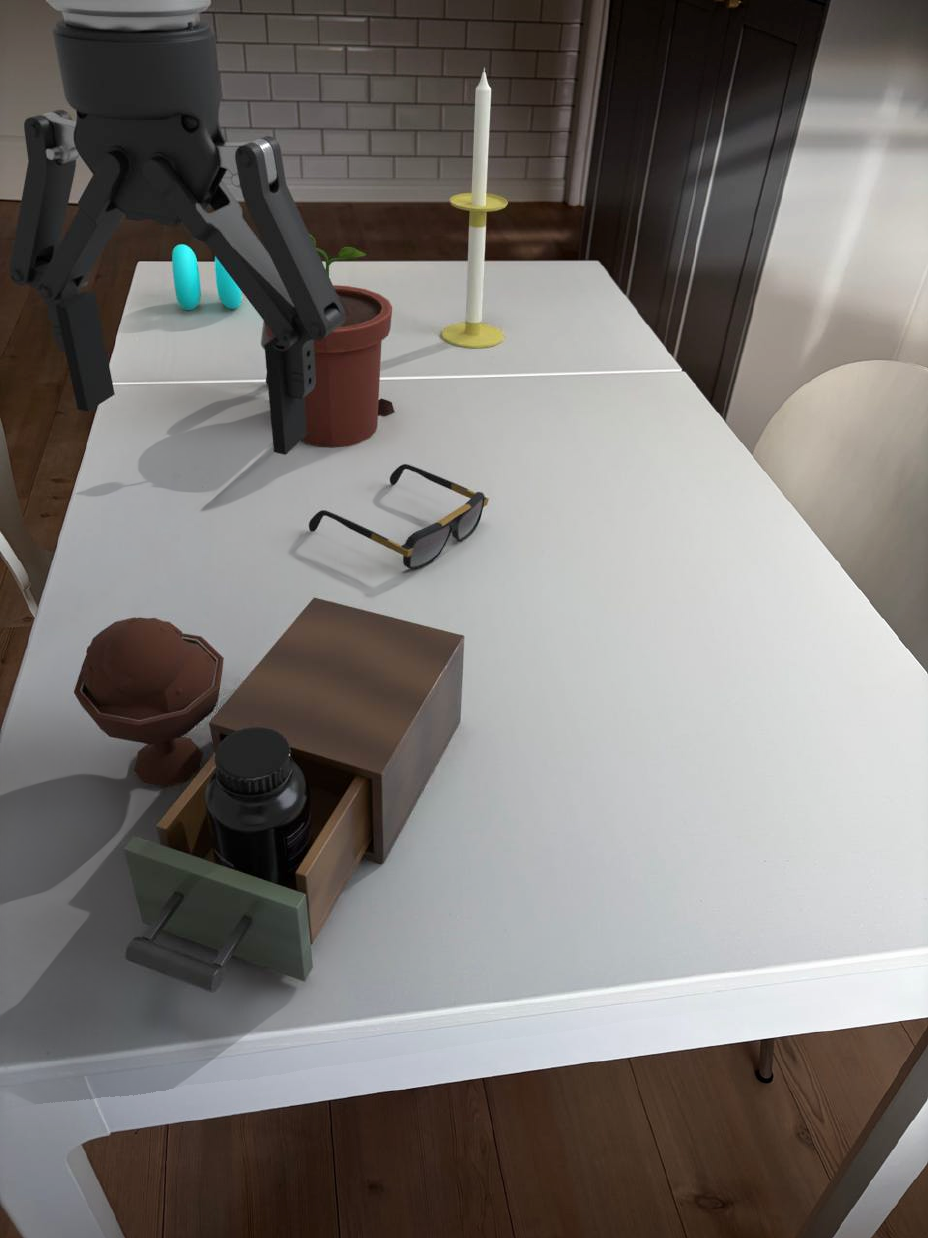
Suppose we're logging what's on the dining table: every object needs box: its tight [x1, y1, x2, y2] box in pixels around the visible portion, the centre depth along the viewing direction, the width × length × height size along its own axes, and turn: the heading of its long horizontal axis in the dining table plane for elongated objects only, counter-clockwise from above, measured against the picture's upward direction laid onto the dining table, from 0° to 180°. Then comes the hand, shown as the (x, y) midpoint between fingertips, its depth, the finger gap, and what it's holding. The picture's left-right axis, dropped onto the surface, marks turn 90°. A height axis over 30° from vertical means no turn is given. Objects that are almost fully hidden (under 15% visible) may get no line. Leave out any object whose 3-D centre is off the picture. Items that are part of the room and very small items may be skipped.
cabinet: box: [208, 596, 465, 865], centre depth 79 cm, size 17×14×10 cm
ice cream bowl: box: [73, 616, 225, 788], centre depth 76 cm, size 11×11×15 cm
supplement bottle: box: [205, 727, 313, 891], centre depth 67 cm, size 7×7×12 cm
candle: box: [440, 67, 509, 349], centre depth 145 cm, size 10×10×38 cm
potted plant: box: [260, 233, 395, 448], centre depth 124 cm, size 18×22×25 cm
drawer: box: [123, 752, 373, 993], centre depth 68 cm, size 21×12×8 cm, turn 160°
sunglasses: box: [308, 463, 490, 571], centre depth 109 cm, size 14×15×5 cm
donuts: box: [171, 243, 243, 311], centre depth 159 cm, size 10×10×10 cm
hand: (190, 422), depth 60 cm, fingers open, 13 cm apart
